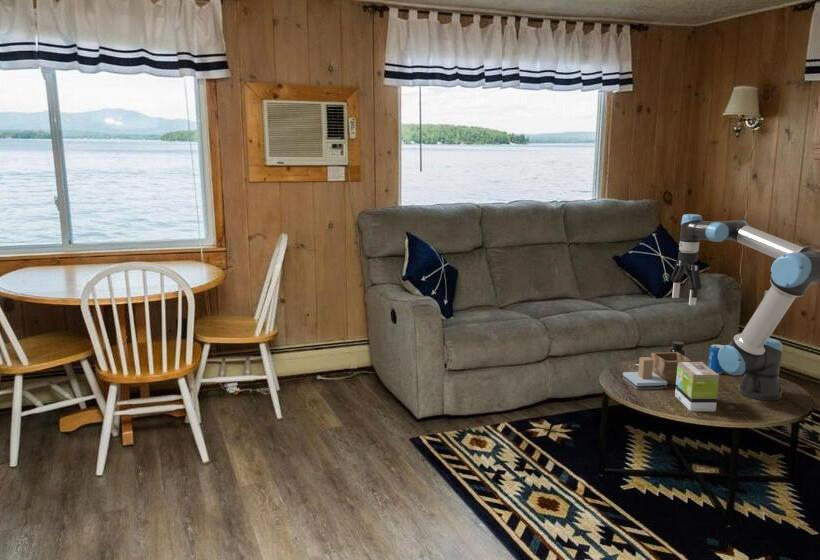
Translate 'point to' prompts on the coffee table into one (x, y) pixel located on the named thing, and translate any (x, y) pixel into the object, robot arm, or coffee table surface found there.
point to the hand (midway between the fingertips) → (683, 301)
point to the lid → (645, 374)
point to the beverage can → (715, 358)
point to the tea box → (697, 386)
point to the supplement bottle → (678, 348)
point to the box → (667, 365)
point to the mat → (644, 386)
